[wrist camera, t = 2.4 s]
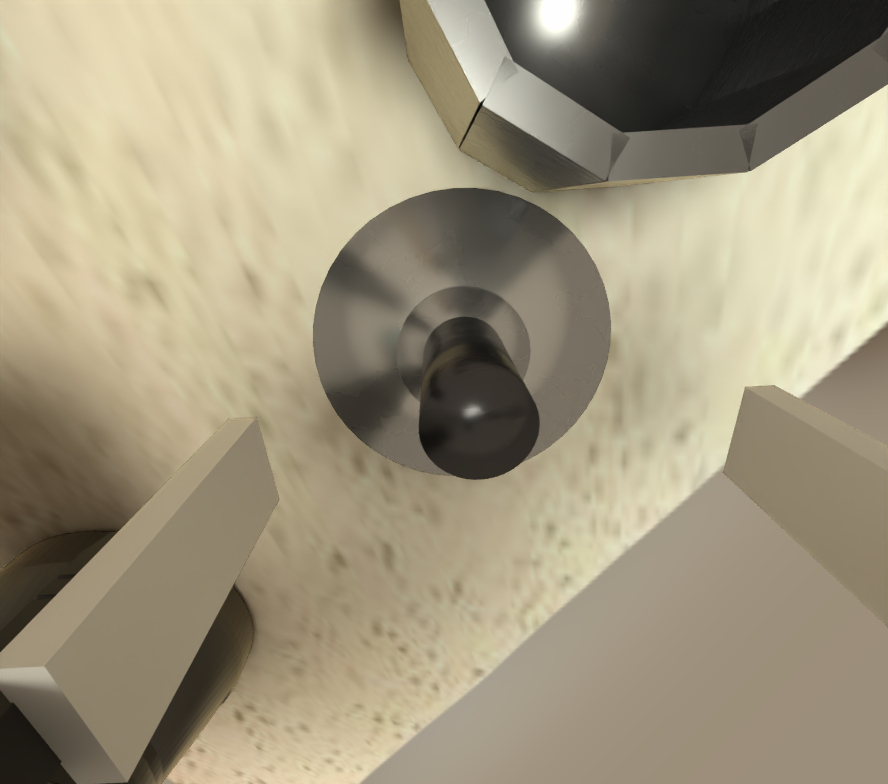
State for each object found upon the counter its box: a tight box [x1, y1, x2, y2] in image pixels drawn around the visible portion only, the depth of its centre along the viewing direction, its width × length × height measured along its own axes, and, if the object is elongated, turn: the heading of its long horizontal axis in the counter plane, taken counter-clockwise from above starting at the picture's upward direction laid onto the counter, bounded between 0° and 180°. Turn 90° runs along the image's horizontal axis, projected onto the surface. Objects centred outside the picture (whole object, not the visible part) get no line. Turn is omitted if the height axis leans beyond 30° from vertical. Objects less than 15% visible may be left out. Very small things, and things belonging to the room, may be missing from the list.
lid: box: [313, 188, 611, 480], centre depth 16 cm, size 14×14×9 cm
